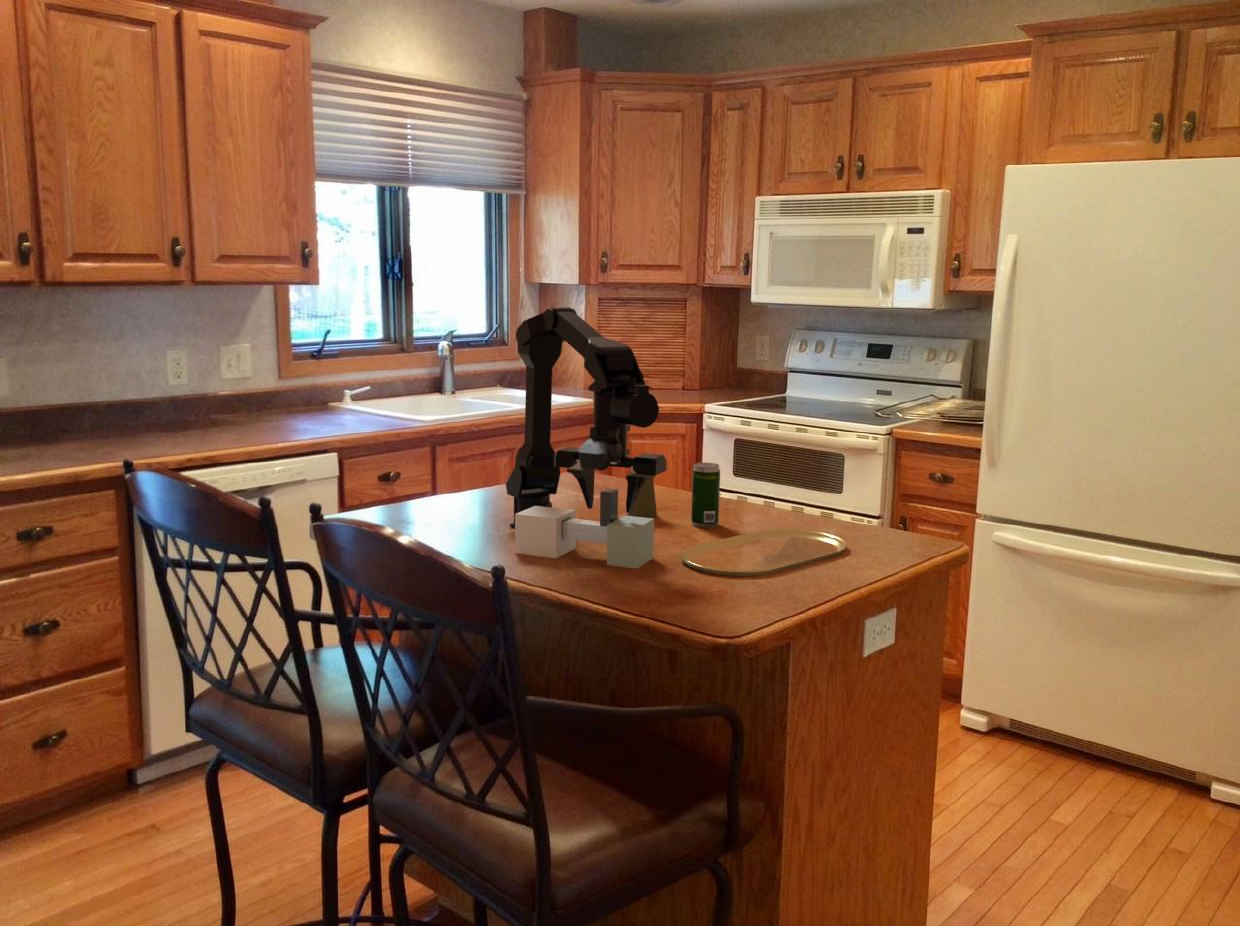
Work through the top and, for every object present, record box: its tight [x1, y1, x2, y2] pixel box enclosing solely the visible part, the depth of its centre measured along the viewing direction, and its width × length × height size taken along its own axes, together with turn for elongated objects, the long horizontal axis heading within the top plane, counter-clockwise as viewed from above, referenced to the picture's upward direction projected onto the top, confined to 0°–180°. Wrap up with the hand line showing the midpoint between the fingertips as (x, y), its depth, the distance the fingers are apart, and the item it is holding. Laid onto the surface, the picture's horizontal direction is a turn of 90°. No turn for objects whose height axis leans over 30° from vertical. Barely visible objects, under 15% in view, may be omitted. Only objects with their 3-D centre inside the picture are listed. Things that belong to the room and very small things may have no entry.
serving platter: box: [680, 528, 847, 577], centre depth 191 cm, size 19×35×2 cm, turn 133°
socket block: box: [606, 515, 655, 569], centre depth 184 cm, size 6×8×7 cm
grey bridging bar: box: [561, 488, 619, 545], centre depth 186 cm, size 15×3×9 cm, turn 67°
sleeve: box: [514, 506, 576, 559], centre depth 191 cm, size 8×8×7 cm
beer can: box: [690, 462, 721, 529], centre depth 212 cm, size 5×5×12 cm
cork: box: [627, 476, 658, 519], centre depth 219 cm, size 6×6×11 cm
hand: (609, 510), depth 185 cm, fingers open, 7 cm apart
